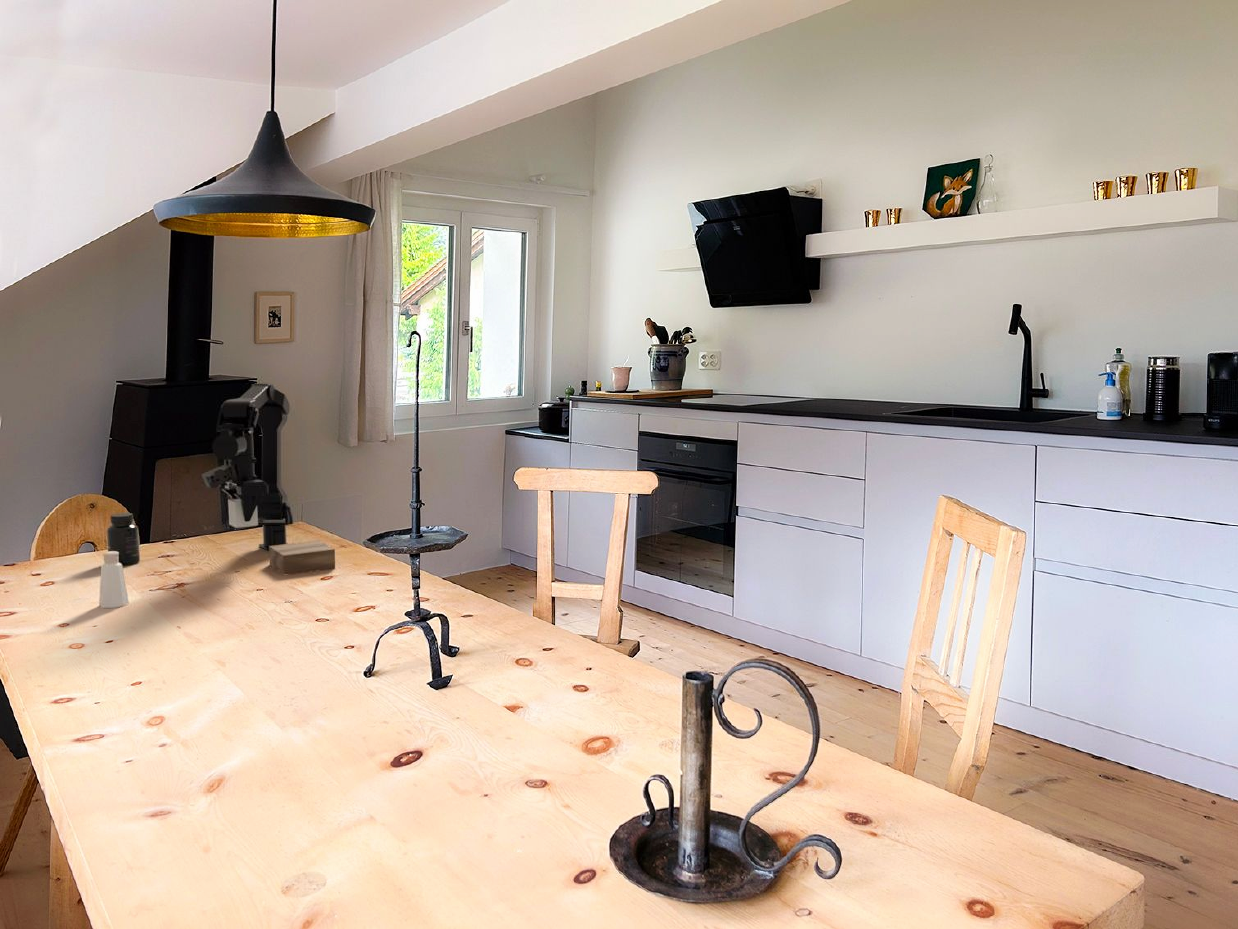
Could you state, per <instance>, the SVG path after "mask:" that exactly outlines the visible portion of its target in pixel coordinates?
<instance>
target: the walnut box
mask: <svg viewBox="0 0 1238 929" xmlns="http://www.w3.org/2000/svg"><path fill="white" fill-rule="evenodd" d="M335 551H336V549H335V548H333V547H331V546H329V545H328V544H326V543H324V542H322V541H320V540H310V541H303V542H294V543H288V544H283V545H274V546H269V550H268V554H269V566H270V565H272V566H273V567H274V569H275V570H276V571H278V570H279V571H280V572H279V571H278V572H279V573H281V574H282V575H283V574H289V575H295V574H303V572H304V573H311V572H310V571H312V572H318V571H317V570H319V571H325V570H326V571H328V570H334V569H336V552H335ZM272 566H271V567H272ZM273 567H272V568H273Z"/></svg>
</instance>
